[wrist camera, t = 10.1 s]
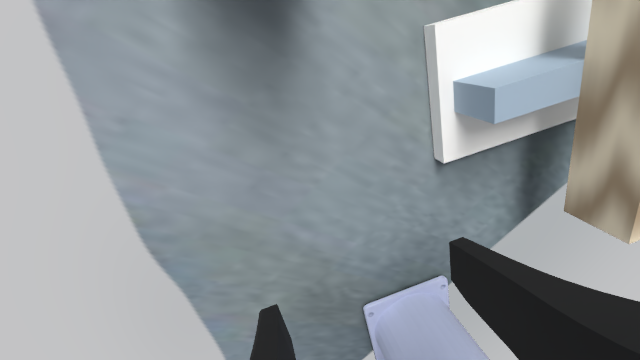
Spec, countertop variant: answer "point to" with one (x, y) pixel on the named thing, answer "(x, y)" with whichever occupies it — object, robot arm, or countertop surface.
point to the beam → (609, 124)
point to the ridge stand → (504, 73)
